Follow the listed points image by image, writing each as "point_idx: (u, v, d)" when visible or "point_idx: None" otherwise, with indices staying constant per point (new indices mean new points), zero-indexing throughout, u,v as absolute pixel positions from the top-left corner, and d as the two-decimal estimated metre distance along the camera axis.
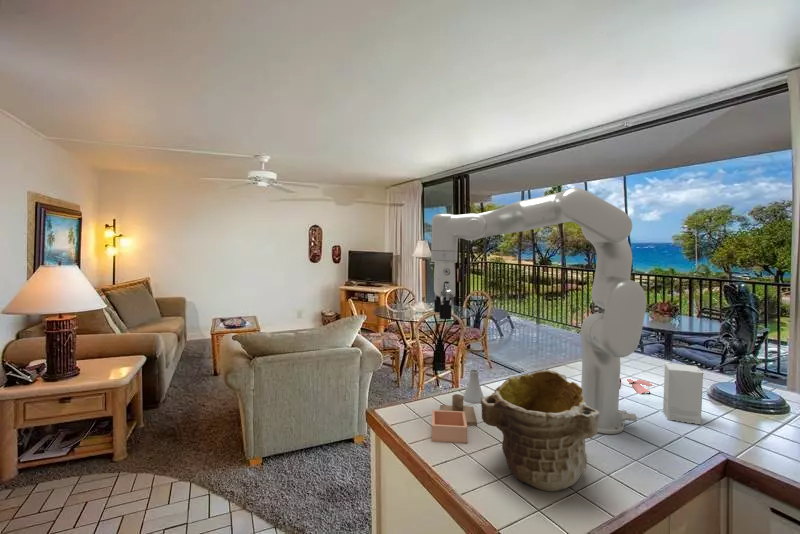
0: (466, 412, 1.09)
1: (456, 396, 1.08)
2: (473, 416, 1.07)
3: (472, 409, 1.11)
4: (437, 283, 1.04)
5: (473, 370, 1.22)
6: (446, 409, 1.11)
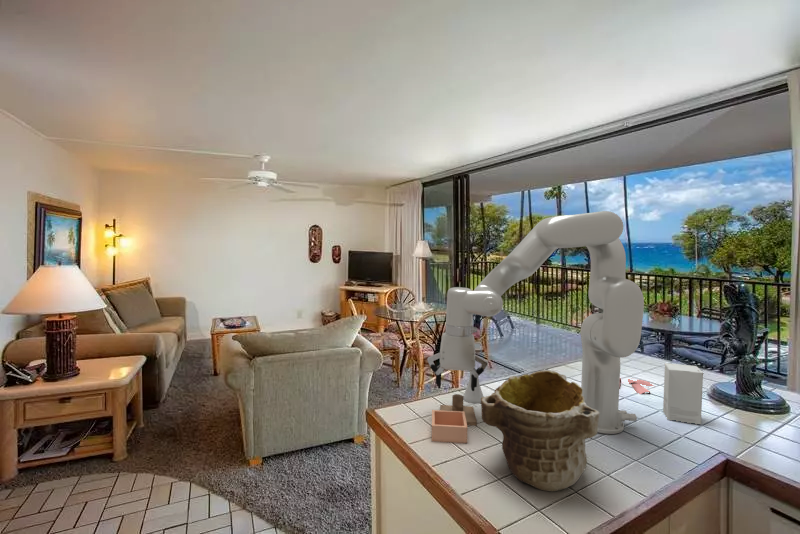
0: (466, 412, 1.09)
1: (456, 396, 1.08)
2: (473, 416, 1.07)
3: (472, 409, 1.11)
4: (469, 358, 1.05)
5: None
6: (446, 409, 1.11)
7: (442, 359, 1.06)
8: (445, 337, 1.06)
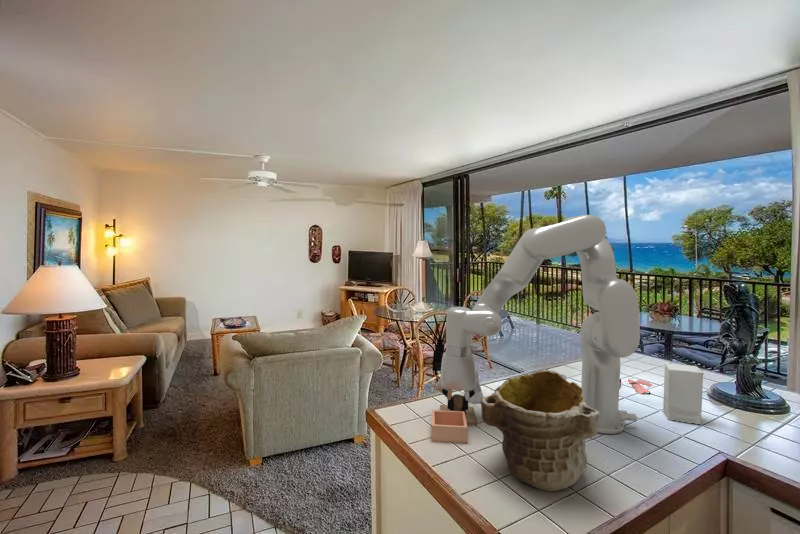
0: (466, 412, 1.09)
1: (456, 396, 1.08)
2: (473, 416, 1.07)
3: (472, 409, 1.11)
4: (470, 378, 1.05)
5: None
6: (446, 409, 1.11)
7: (443, 379, 1.06)
8: (445, 357, 1.06)
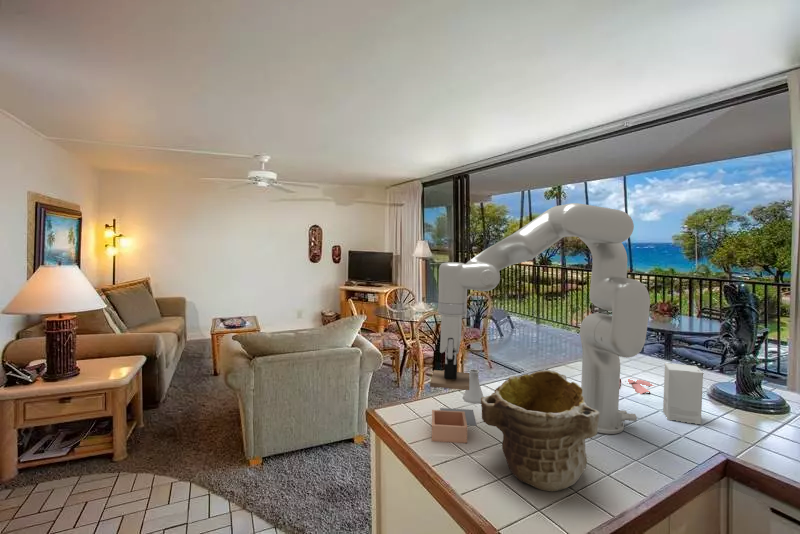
0: None
1: None
2: (457, 372, 1.04)
3: (441, 371, 1.05)
4: None
5: (473, 370, 1.22)
6: (442, 381, 0.97)
7: (458, 343, 0.95)
8: (459, 318, 0.95)
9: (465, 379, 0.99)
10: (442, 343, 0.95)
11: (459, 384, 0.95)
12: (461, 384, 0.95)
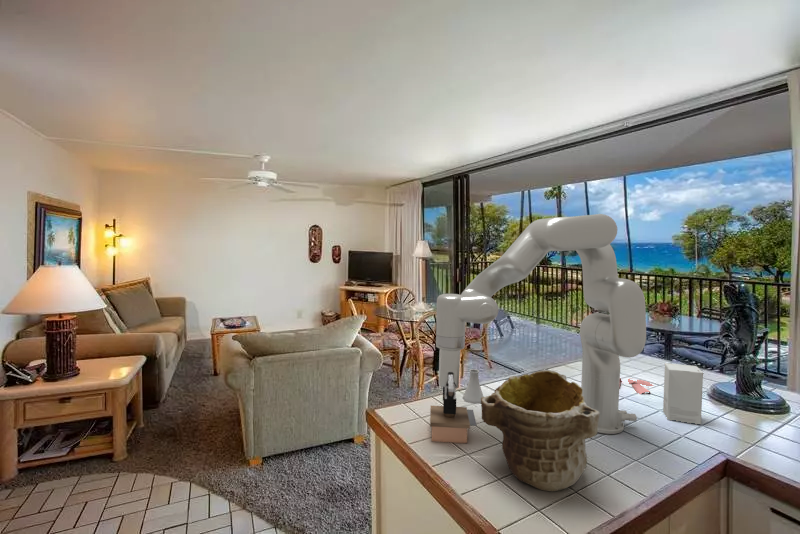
0: None
1: None
2: None
3: (437, 406, 1.04)
4: None
5: (473, 370, 1.22)
6: (442, 419, 0.96)
7: (458, 377, 0.94)
8: (458, 352, 0.94)
9: (463, 416, 0.98)
10: (442, 378, 0.93)
11: (459, 422, 0.94)
12: (461, 423, 0.94)
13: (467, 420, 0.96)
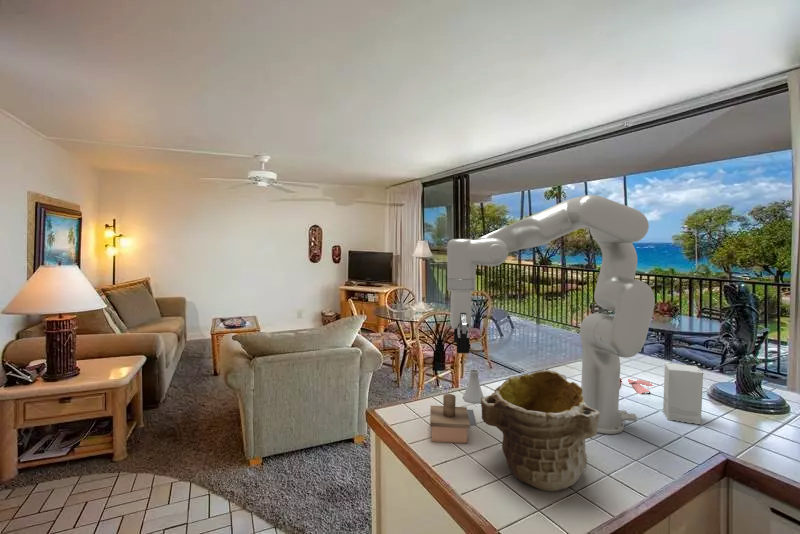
0: None
1: (450, 396, 0.98)
2: None
3: (437, 406, 1.04)
4: None
5: (473, 370, 1.22)
6: (442, 419, 0.96)
7: (470, 318, 0.96)
8: (470, 293, 0.96)
9: (463, 416, 0.98)
10: (455, 318, 0.95)
11: (459, 422, 0.94)
12: (461, 423, 0.94)
13: (467, 420, 0.96)
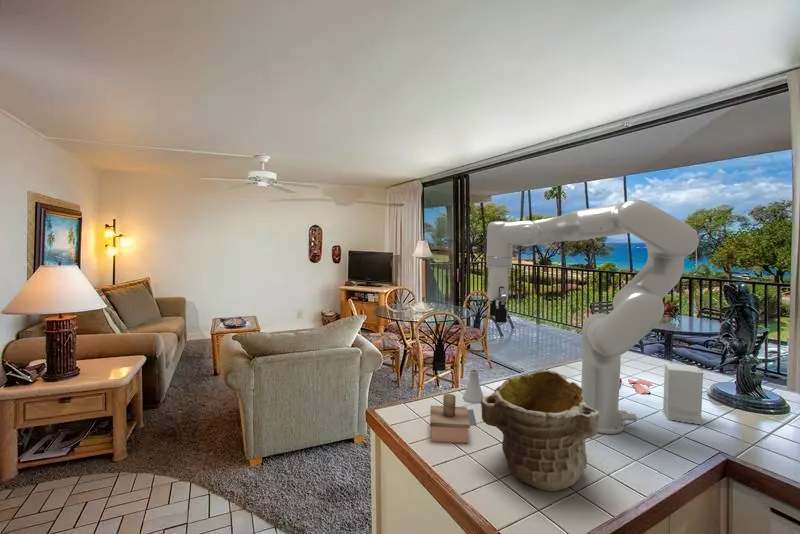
0: None
1: (450, 396, 0.98)
2: None
3: (437, 406, 1.04)
4: None
5: (473, 370, 1.22)
6: (442, 419, 0.96)
7: None
8: (508, 269, 1.08)
9: (463, 416, 0.98)
10: (494, 291, 1.08)
11: (459, 422, 0.94)
12: (461, 423, 0.94)
13: (467, 420, 0.96)
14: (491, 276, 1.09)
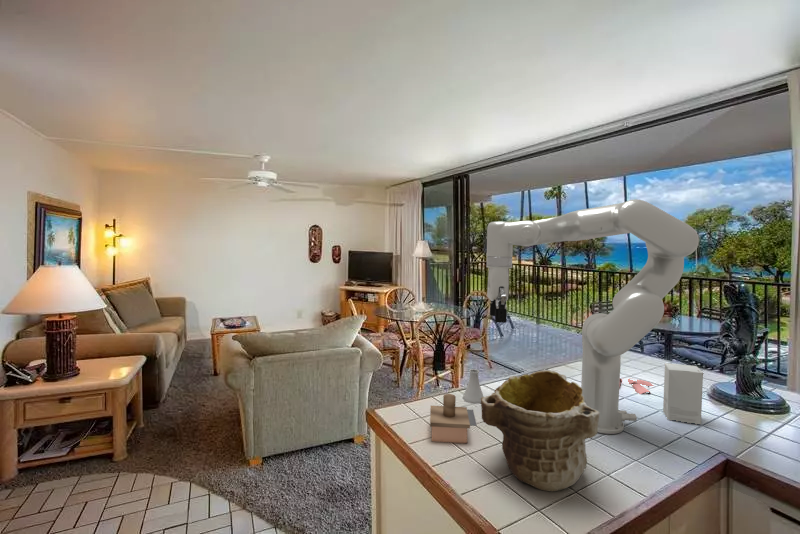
0: None
1: (450, 396, 0.98)
2: None
3: (437, 406, 1.04)
4: None
5: (473, 370, 1.22)
6: (442, 419, 0.96)
7: None
8: (508, 269, 1.08)
9: (463, 416, 0.98)
10: (494, 291, 1.08)
11: (459, 422, 0.94)
12: (461, 423, 0.94)
13: (467, 420, 0.96)
14: (491, 276, 1.09)
